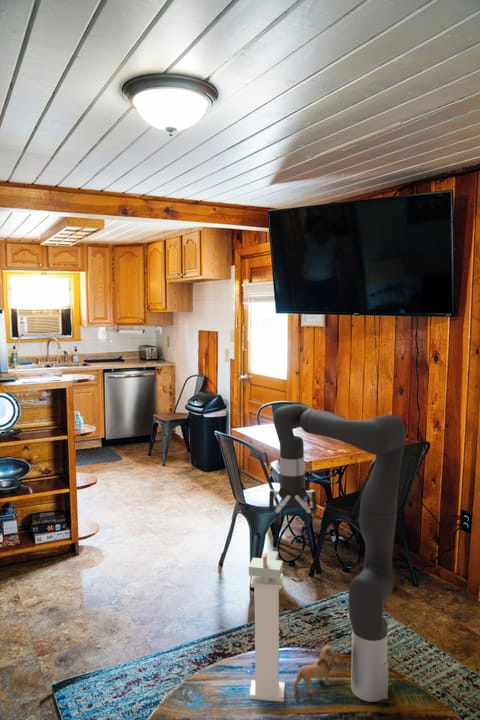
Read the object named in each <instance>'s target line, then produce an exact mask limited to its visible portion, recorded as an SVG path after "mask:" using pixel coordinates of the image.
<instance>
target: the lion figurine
mask: <svg viewBox="0 0 480 720" xmlns="http://www.w3.org/2000/svg"><path fill="white" fill-rule="evenodd" d="M335 658H336V657H335V651H334V649H333V647H332V646H331V645H325V646H324V647H321V649H320V653H319V657H318V660H317V661H316V662H315V663H312V664H309V665H308V664H305V665H303V666H301V667H300V668H299V670H298V673H297V676H296V680H295V681H294V684H293V685H294V686H293V690H294V691H295V693H294V695H293V696H294V697H297V696H298V693H299V690H300V689H299V683H300V682H301V681H302V680H303V682H304V684H305V686H304V689H305V690H306V692H307V693H308V694H309V695H313V694H314V691H313V690H312V689H310V684H311V680H312V679H317V680H318V681H322V680H323V677H324V684H325V685H326V686H329V685H330V681H329V677H330V672H331V671H333V668H334V664H335ZM322 676H323V677H322Z"/></svg>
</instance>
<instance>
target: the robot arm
mask: <svg viewBox="0 0 480 720" xmlns="http://www.w3.org/2000/svg"><path fill="white" fill-rule="evenodd" d="M273 424H274V425H273V426H274V428H275V432H276V435H277V439H278V441H279V468H278V469H279V470H278V472H279V489H274V488H270V490H269V501H268V503H269V505H268V510H269V511H270V512H274V513H275V523H276V524H277V525H280V526H281V524H282V523H281V522H282V521H281V519H282V518H281V510H282V509H283V508H284V507H285V505H287V506H292V505H293V506H299V505H300V506H301V507H302V508H303V509H304V510H305V512H306V525H307V526H309V525H310V524H311V523H312V513H313V512H317V510H318V503H317V493H316V489H315V488H313V489H311V490H307V489H306V463H305V462H306V461H305V455H304V453H305V450H304V447H305V445H304V440H303V438H302V437H301V436H298V435H295V434H294V429H299V428H301V429H302V431H304V432H305V433H308V434H311V435H315V436H320V437H325V438H328V439H333V440H336V441H339V442H342V443H345V444H348V445H350V446H352V447H354V448H356V449H359V450H361V451H363V452H366V453H368V454H370V455H373V456H374V455H375V460H374V466H373V468H372V471H371V474H370V476H369V478H368V480H367V482H366V483H365V486H364V489H363V491H362V495H361V498H360V502H359V503H360V504H359V516H358V517H359V518H358V519H359V521H358V522H359V529H360V532H361V536H362V538H363V541H364V544H365V545H364V546H365V552H364V554H365V556H364V562H363V565H362V566H363V567H362V570H361V572H359V574H357V576H355V578H354V579H353V580H351V582H350V583H349V588H348V589H349V590H348V613H349V615H348V616H349V620H350V623H351V658H350V659H351V660H350V661H351V663H350V664H351V667H350V669H351V670H350V674H351V675H350V677H351V678H350V689H351V691H352V694H353V695H354V696H356V697H357V698H358V699H360V700H362V701H365V702H369V703H372V702H373V703H375V702H379V701H382V700H384V699H386V700H387V699H388V698H389V697H388V695H389V693H388V691H389V685H388V684H389V662H388V634H389V631H388V629H389V628H388V627H389V625H388V622H387V620H386V618H385V617H384V616H383V608H384V607H383V606H384V605H385V603H386V602H387V601H388V600H389V599H390V598H391V596H392V593H393V587H394V580H393V579H394V578H393V577H394V576H393V575H394V574H393V552H394V551H393V549H394V544H395V543H394V542H395V532H396V523H397V512H398V495H399V485H400V475H401V474H400V472H401V467H402V461H403V456H404V452H405V447H406V440H407V433H406V427H405V424H404V423H403V420H401V419H400V417H398V416H397V415H394V414H385V415H380V416H375V417H371V418H369V419H364V420H363V419H361V420H359V419H358V420H352V419H346V418H343V417H342V416H340V415H338V414H336V413H333V412H331V411H327V410H322V409H316V408H312V407H310V406H308V405H305V404H299V403H293V404H289V405H284V406H279V407H278V408H277V409H276V410H275V412H274V414H273ZM277 496H279V497H280V501H279V502H278V503H277V504H276V505H275V504H274V503H275V502H274V501H275V498H277ZM307 496H309V499H311V500H312V505H309V503H308V502H307V500H306V499H305V498H306V497H307Z"/></svg>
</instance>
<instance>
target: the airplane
mask: <svg viewBox="0 0 480 720" xmlns="http://www.w3.org/2000/svg"><path fill="white" fill-rule="evenodd" d="M283 570H284V561H283V560H279V551H277V550H275V551H274V550H270V552H269V553H267V552H264V554H263V556H262V558H260V557H252V559H251V561H250V563H249V565H248V576H251V577H252V576H258V577H260V582H261V583H269V581H270V579H271V578H274V579H280V576H281V573H282V572H283Z"/></svg>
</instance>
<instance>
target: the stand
mask: <svg viewBox="0 0 480 720" xmlns="http://www.w3.org/2000/svg"><path fill="white" fill-rule="evenodd" d="M283 577H284V573H281V576H280V579H274V578H271V579H270V581H269V583H261V582H260V577H258V576H251V578H250V579H251V580H250V582H249V583H250V588H254V652H255V653H254V664H255V665H254V674H255V675H254V679H251V682H250V690H249V700H257V701H258V700H259V701H270V702H272V701H273V702H283V703H284V702H285V689H286V687H285V685H286V684H285V682H284V681H280V666H279V665H280V652H279V651H280V648H279V647H280V644H279V643H280V629H279V627H280V625H279V622H280V621H279V620H280V618H279V617H280V615H279V613H280V611H279V609H280V607H279V606H280V602H279V601H280V599H279V595H280V590H282V588H283V579H284V578H283Z"/></svg>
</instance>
